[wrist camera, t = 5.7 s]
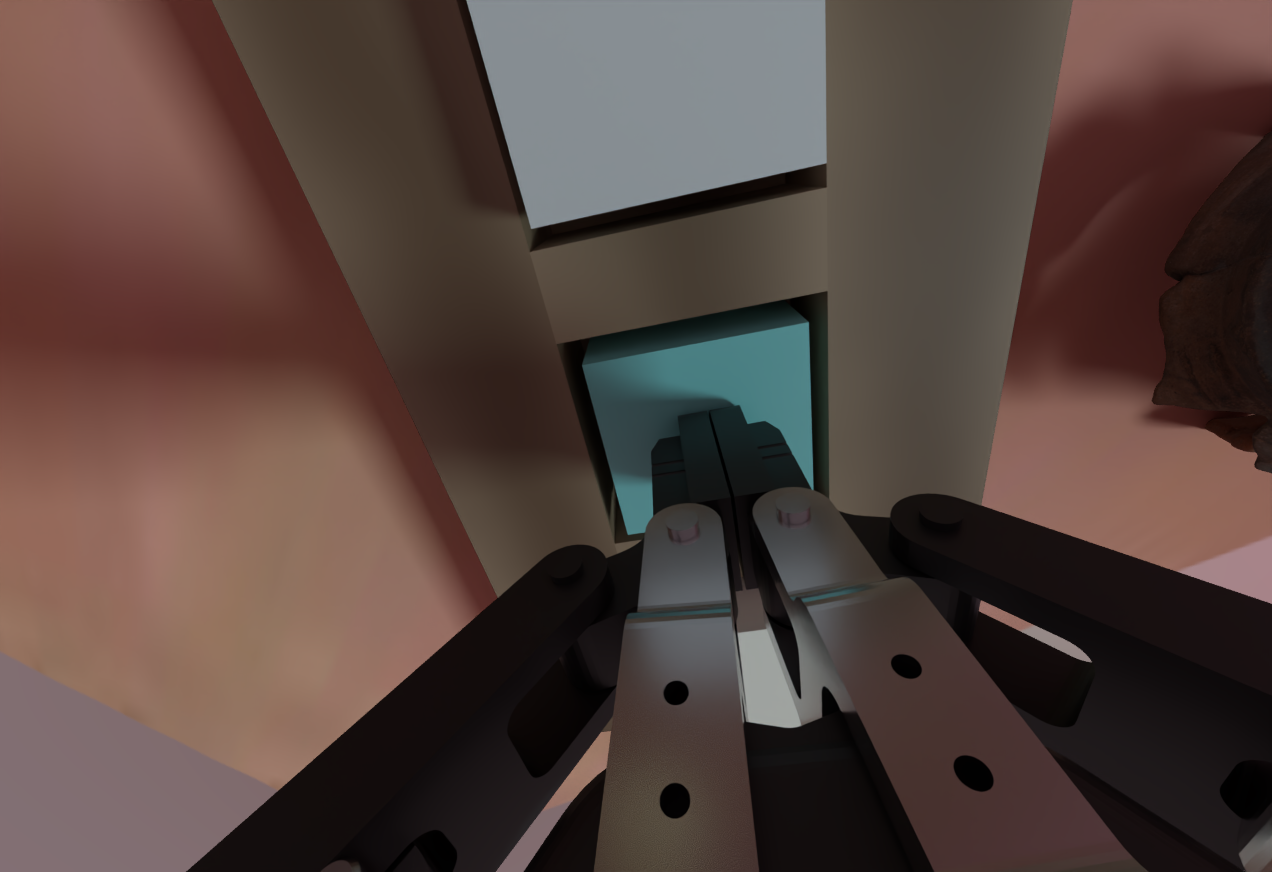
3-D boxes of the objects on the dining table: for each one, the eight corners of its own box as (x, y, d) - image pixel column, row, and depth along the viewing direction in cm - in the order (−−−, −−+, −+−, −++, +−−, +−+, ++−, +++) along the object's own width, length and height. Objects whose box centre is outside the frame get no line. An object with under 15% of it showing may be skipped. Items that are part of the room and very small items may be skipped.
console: (576, 645, 22) (564, 735, 18) (293, -71, 10) (120, -192, 7) (894, 604, 20) (947, 693, 17) (967, -276, 9) (1174, -557, 6)
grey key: (551, 217, 10) (531, 228, 8) (465, -111, 8) (409, -202, 6) (789, 164, 10) (826, 163, 8) (774, -205, 7) (822, -336, 5)
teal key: (629, 488, 15) (627, 535, 13) (590, 335, 13) (582, 365, 11) (791, 462, 15) (813, 506, 13) (782, 298, 12) (808, 322, 10)
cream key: (672, 681, 18) (676, 742, 16) (647, 585, 15) (648, 644, 14) (809, 664, 17) (831, 726, 15) (805, 562, 15) (830, 620, 13)
